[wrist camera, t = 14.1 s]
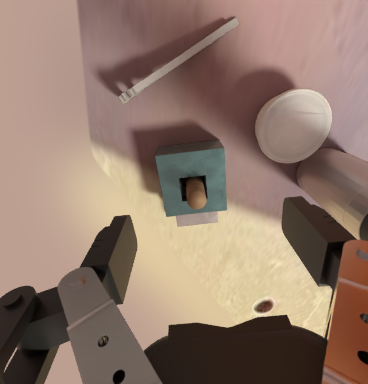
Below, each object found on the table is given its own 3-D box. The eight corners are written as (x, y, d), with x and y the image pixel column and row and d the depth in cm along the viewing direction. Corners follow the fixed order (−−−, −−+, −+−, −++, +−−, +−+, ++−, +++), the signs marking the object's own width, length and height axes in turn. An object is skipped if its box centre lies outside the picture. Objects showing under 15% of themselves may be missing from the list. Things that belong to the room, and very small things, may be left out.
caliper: (127, 102, 37) (118, 106, 32) (123, 96, 37) (113, 99, 31) (238, 24, 33) (250, 13, 27) (235, 17, 32) (246, 4, 27)
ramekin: (302, 72, 36) (321, 71, 31) (322, 133, 40) (341, 140, 35) (238, 111, 38) (246, 116, 33) (263, 164, 42) (274, 175, 38)
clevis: (218, 139, 40) (224, 147, 35) (222, 212, 47) (227, 228, 42) (158, 146, 41) (155, 156, 36) (170, 218, 47) (169, 234, 43)
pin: (200, 167, 42) (205, 190, 33) (202, 181, 44) (207, 208, 35) (184, 169, 43) (185, 193, 34) (186, 183, 44) (188, 210, 35)
